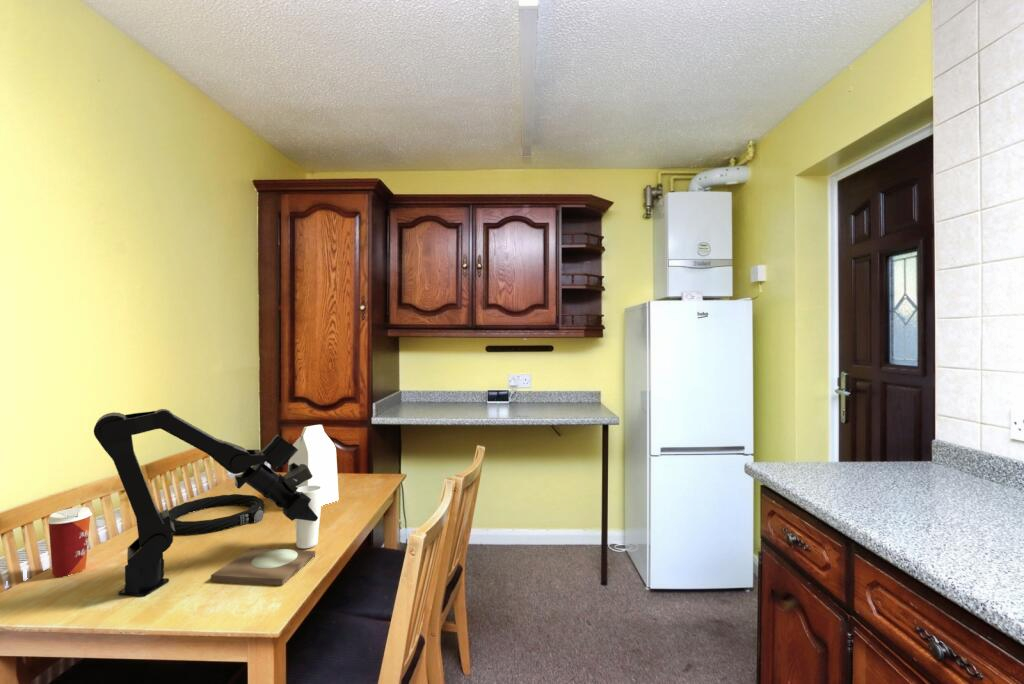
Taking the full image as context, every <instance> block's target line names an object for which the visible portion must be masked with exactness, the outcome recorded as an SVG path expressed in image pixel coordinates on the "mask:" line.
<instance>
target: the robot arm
mask: <svg viewBox="0 0 1024 684" xmlns="http://www.w3.org/2000/svg"><path fill="white" fill-rule="evenodd" d="M94 425H95V426H94V427H93V434H94V437H95V439H96V440H97V442H98V443H99V444H100V446H101V447H102V448H103V450H104V451H105V453H106V454H107V455H108V456H109V457H110V458H111V459H112V462H113V464H114V466H115V469H116V471H117V473H118V476H119V478H120V481H121V484H122V486H123V489H124V491H125V494H126V496H127V498H128V501H129V503H130V506H131V508H132V511H133V514H134V516H135V519H136V526H137V527H136V528H137V534H138V537H137V538H136V539H135V540H134V541H133V542H132V543H131V544H130V545H129V546H128V547H127V557H126V558H127V564H126V565H124V588H122V589H121V590H119V591H117V595H124V596H140V597H144V596H147V595H148V594H151V593H153V592H154V591H155V590H157V589H159V588H160V587H162V586H163V585H165V584H167V583H169V582H170V578H167V577H166V578H165V574H164V573H165V559H164V552H166V551H168V549H169V548H171V546H172V544H173V542H174V537H173V534H172V533H175V528H174V524H173V522H171V521H170V518H169V513H168V510H169V509H167V508H166V509H164V510H162V511H160V510H159V508H158V507H157V506H156V504H155V502H154V499H153V496H152V494H151V493H152V492H151V491H150V489H149V486H148V483H147V481H146V478H145V476H144V473H143V469H142V467H141V465H140V463H139V460H138V458H137V455H136V452H135V449H134V443H133V442H134V440H133V436H135V435H138V434H143V433H147V432H151V431H155V430H159V429H160V430H163V431H165V432H166V433H168V434H170V435H172V436H173V437H175V438H177V439H179V440H181V441H183V442H185V443H186V444H188V445H190V446H192V447H194V448H195V449H197V450H200V451H201V452H204V453H205V454H206V455H208V456H209V457H211V458H212V460H213V461H215V462H216V463H218V464H219V465H220V466H222V467H223V469H225V470H226V471H227V472H229V473H230V474H233V475H234V480H235V481H234V485H235V487H236V488H237V489H240V488H242V487H243V486H244V485H245V483H246V484H247V485H248V486H250V487H251V488H253V490H255V491H257V492H258V493H259V494H261V495H262V496H263V498H265V499H268V500H269V501H271V502H272V503H273V504H274V505H275V506H276V507H277V508H279V509H282V513H283V515H284V516H285V517H286V518H287V519H289V520H290V521H292V522H293V521H295V519H301V520H308V521H316V520H317V519H318V517H317V516H316V514H315V513H314V512H313V511H312V509H311V508H310V507H309V506H308V504H309V502H310V501H311V499H310V498H309V497H308V496H307V495H305V494H304V493H303V492H298V493H296V494H295V491H296V490H297V489H298V488H297V487H296V486H298V485H300V484H301V483H303V482H304V481H306V480H309V479H311V478H312V474H311V472H310V470H309V468H308V466H306V465H305V464H300V466H299V465H297V464H295V463H292V464H290V465H289V470H288V469H287V471H286V473H285V474H284V475H283V474H281V473H277V472H276V471H275V470H273V469H272V468H271V467H269V466H268V465H266V464H265V463H267V464H269V465H270V466H272V467H273V468H274V469H277V468H279V469H280V468H283V467H284V466H286V464H287V463H289V460H290V459H291V458H292V457H293V455H294V454H295V453H296V452H297V451H298V449H297V448H295V447H294V446H293V444H292V443H291V442H289V441H287V440H285V438H283V437H281V436H280V435H279V434H275V435H274V436H273V437H272V439H271V440H270V441H269V443H267V444H266V445H265V447H264V448H263V449H261V450H260V449H245V447H243V446H241V445H237V444H235V443H232V442H229V441H225V440H222V439H219V438H216V437H214V436H213V435H211V434H209V433H207V432H206V431H203V430H202V429H201V428H199V427H197V426H195V425H193V424H191V423H189V422H188V421H187V420H185V419H182V418H181V417H179V416H177V415H176V414H174V413H172V411H170V410H169V409H165V408H159V409H157V410H152V411H143V412H135V413H128V414H124V413H121V412H114V411H113V412H108V413H105V414H103V415H102V416H100V417H99V418H98V419H97V421H96V423H95V424H94Z"/></svg>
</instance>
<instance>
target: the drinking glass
mask: <svg viewBox="0 0 1024 684" xmlns="http://www.w3.org/2000/svg"><path fill="white" fill-rule="evenodd" d="M298 492H303V493H304V494H305V495H307V496H308V497H309V498H310V499H311V501H310V502H309V504H308V506H309V507H310V508H311V509H312V511H313V512H314V513H315V514H316V516H317V517H318V519H317V520H316V521H308V520H301V519H295V520H294V522H295V526H294V527H295V536H296V537H295V539H296V540H295V544H296V545H295V546H296V547H297V548H298V549H300V550H302V549H303V550H305V549H310V548H313V547H316V546H317V545H318V543H319V533H320V532H319V530H320V521H321V514H322V513H321V512H322V511H321V510H322V507H321V503H322V488H321V486H317V485H309V486H302V487H299V488H298V489H297V490H296V491H295V494H296V493H298Z"/></svg>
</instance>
